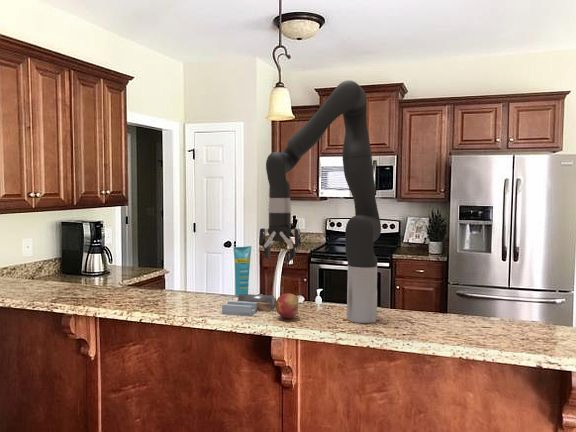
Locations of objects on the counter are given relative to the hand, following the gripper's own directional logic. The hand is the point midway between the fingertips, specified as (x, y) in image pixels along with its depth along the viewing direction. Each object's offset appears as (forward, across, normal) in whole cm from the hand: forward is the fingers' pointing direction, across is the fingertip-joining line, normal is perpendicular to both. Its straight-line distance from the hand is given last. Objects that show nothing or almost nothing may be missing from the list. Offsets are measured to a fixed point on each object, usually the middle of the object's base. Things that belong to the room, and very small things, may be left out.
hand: (279, 259), depth 160 cm
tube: (+17, +22, -16) cm, 32 cm away
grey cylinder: (+15, +9, -1) cm, 18 cm away
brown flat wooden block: (+17, +9, -1) cm, 20 cm away
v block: (+17, +11, +9) cm, 22 cm away
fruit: (+18, -6, +10) cm, 21 cm away
